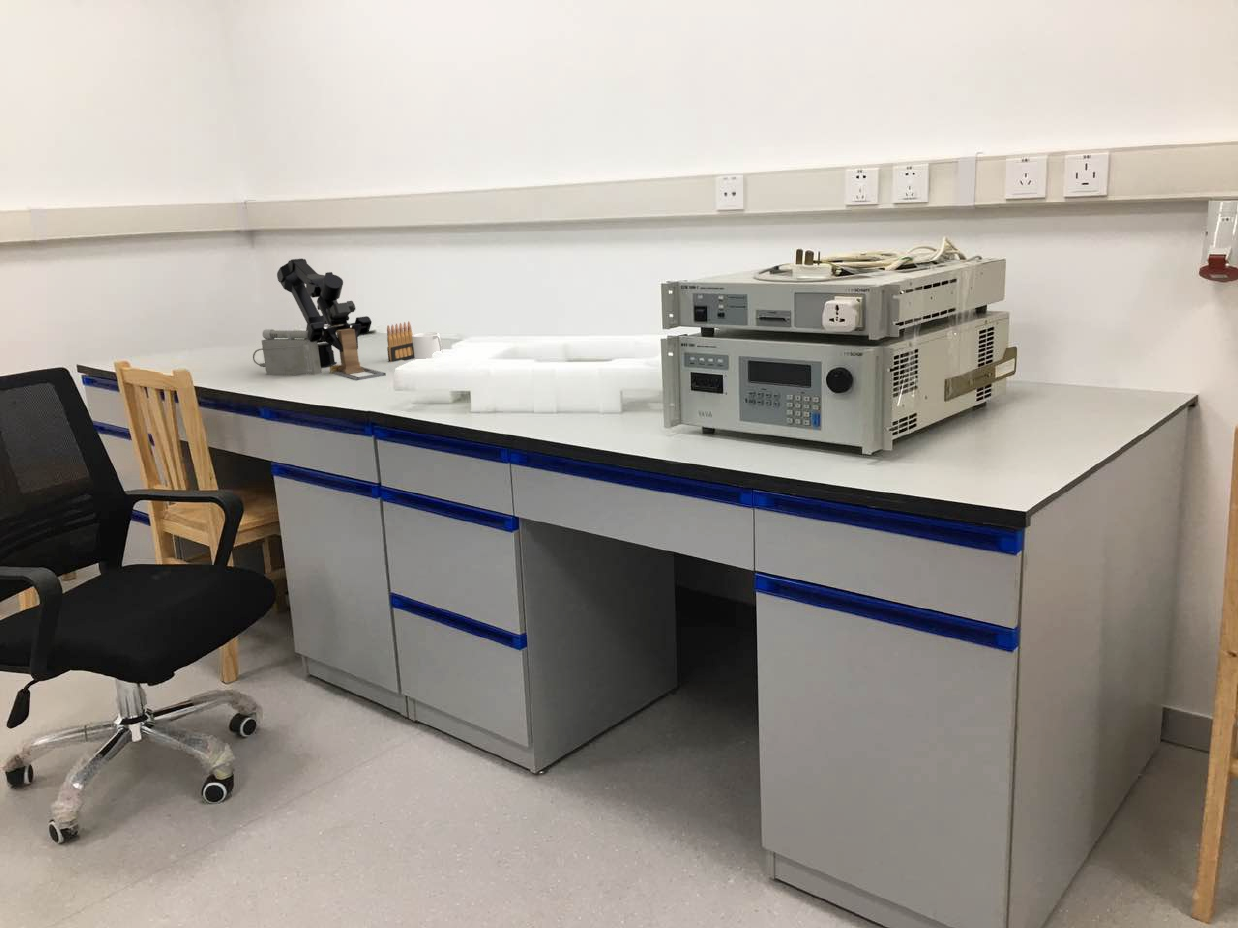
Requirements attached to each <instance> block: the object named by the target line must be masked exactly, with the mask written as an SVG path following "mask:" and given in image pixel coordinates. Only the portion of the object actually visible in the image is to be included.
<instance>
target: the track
mask: <svg viewBox="0 0 1238 928" xmlns="http://www.w3.org/2000/svg"><path fill="white" fill-rule="evenodd" d="M359 366H361V362H360V361H359ZM340 367H342V366H341V364H337V365H336V364H334V365H330V366H329V371H330V373H331V374H335V375H338V376H342V377H344V378H348V379H351V380H355V381H360V380H367V379H372V378H380V377H385V376H386V375H387V374H386V372H382V371H379V370H375V369H372V368H368V367H364V366H362V367H363V369H364V372H368V373H370V374H369V375H362V376H356V375H353V374H346V373H343V372H339V371H338V368H340ZM371 373H372V374H371Z"/></svg>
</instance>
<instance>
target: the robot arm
mask: <svg viewBox="0 0 1238 928" xmlns="http://www.w3.org/2000/svg"><path fill="white" fill-rule="evenodd" d="M276 277H277V281H278V283H280V284H281V286H282V288H283V289H284V290H285V291H287V292H289V293H291V294H292V297H293V298H294V300H295V302H296V304H297V306H298V309H299V310H300V312H301V314H302V316H303V318H304V320H305V322H306V327H305V331H308V338H309V340H310V341H311V342H315V341H317V343H318V350H319V357H320V365H321V368H326V367H330V366H334V365H336V364H338V362H337V361H335V354H334V353H335V352H334V350H333V348H332V347H334V348H335V349H337V350H338V351H341V352H343V347H342V345H341V343H340V341H339V339H338V337H337V330H343V329H355V337H356V344H357V351H358V349H359V345H358V344H359V342H358V337H360V336H362V335H368V334H369V332H370V328H371V326H372V320H371V318H370V317H369V316H367V315H365V316H358V317H355V321H354V322H348V321H349V320H350V316H349V315H350V314H351V313H354V312H355V311H356V306H355V303H354V301H353V300H347V301H346V302H338V300H339V299H340V297H341V294H342V289H343V286H344V280H343V278H342V277H340V276H339V275H336V274H333V272H332V271H329V272H328V271H327V272H325V274H319V273H317V272H316V271H315V270H314V269H313V268H312V267H311V265H309V263H308V262H307V260H306V259H305V258H294V259H292V258H291V259H290V260H288V262H287V263H286V264H284V265H282V266H280V267H279V269H278V271H277V273H276ZM312 298H316V304H317V306H316V305H315V303H314V300H313V299H312ZM319 311H320V312H321V313H320V312H319ZM321 314H322V315H321ZM308 338H303V339H308Z"/></svg>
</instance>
